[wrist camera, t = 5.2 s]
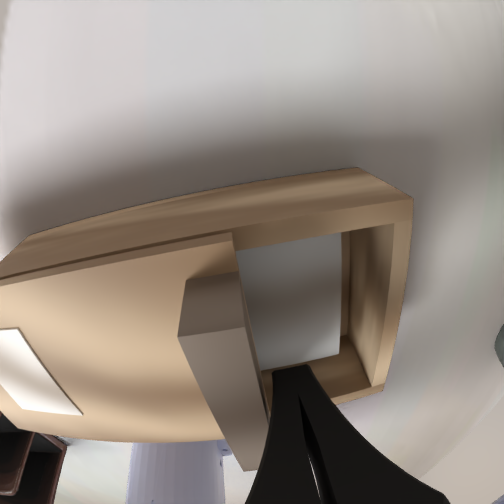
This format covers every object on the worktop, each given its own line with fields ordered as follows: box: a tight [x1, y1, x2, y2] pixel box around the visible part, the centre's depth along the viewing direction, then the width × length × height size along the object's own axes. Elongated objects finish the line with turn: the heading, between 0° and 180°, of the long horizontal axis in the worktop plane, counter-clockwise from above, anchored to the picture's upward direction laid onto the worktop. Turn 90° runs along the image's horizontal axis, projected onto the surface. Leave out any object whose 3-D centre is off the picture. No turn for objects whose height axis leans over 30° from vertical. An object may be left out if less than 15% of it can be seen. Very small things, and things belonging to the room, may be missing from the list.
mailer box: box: [0, 168, 414, 415], centre depth 14 cm, size 11×18×5 cm, turn 99°
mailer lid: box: [0, 232, 270, 472], centre depth 10 cm, size 11×18×3 cm, turn 99°
